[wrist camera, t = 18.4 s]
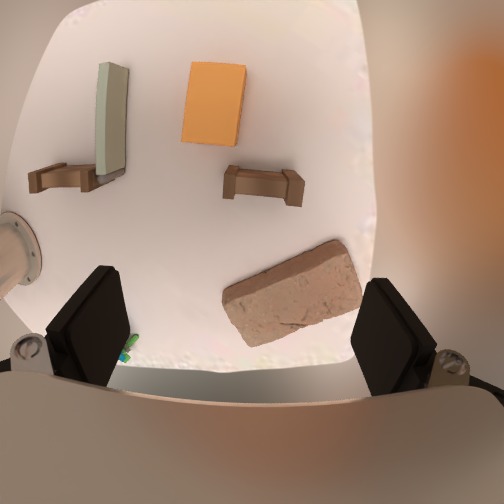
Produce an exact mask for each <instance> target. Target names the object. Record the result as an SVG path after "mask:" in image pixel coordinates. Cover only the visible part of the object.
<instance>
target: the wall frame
mask: <svg viewBox="0 0 504 504" xmlns="http://www.w3.org/2000/svg"><path fill="white" fill-rule="evenodd" d="M238 167H239V166H233V165H229V167H228V169H227V170H226V172H225V174H224V184H223V198H224V199H234V195H235V194H245V195H256V196H267V197H276V198H283V199H284V201H285V203H286V205H288V206H297V207H302V200H303V193H304V186H305V181H304V180H303V179H302V178H301V177H300V176H299V175H298V174H297V173H296V172H295V171H291V170H283V169H282V173H278V172H269V171H259V170H249V169H238ZM98 176H99V175H96V165H72V166H66V163H58V164H55V165H51V166H48V167H45V168H42V169H39V170H36V171H33V172H30V173H28V181H29V192H30V194H31V193H39V192H42V191H44V190H46V189H48V188H53V187H81V192H90V191H92V190H94V189H96V188H98V187H100V186H103V185H105V184H107V183H109V182H111V181H113V180H115V179H112V180H110V181H108V182H106V183H104V184H99V183H98V181H97V178H98Z"/></svg>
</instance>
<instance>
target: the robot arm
mask: <svg viewBox="0 0 504 504" xmlns="http://www.w3.org/2000/svg"><path fill="white" fill-rule="evenodd" d="M40 270H41V255H40V250H39V246H38V243H37V241H36V238H35V236H34V234H33V232H32V230H31V229H30V227H29V226H28V224H27V223H26V222H25V221H24V220H23V219H22V218H21V217H19V216H18V215H16V214H14V213H11V212H6V213H3V214H1V215H0V300H1V299H2V298H3V297H4V296H5V295H6V294H7V293H8V292H9V291H10V290H11V289H12V288H13V287H14V286H16V285H17V284H20V285H29V284H31V283H33V282H34V281H35V280H36V279H37V277H38V276H39V273H40ZM46 332H47V335H46V336H45V337H43V336H42V335H40V334H37V333H31V334H26V335H24V336H22V337H20V338H19V339H17V340H16V341H15V342H14V343H13V345H12V348H11V351H10V358H9V359H6V360H3V361H1V362H0V504H504V390H502V389H500V388H498V387H496V386H493V385H491V384H489V383H487V382H484V381H482V380H480V379H478V378H475V377H473V376H471V375H470V365H469V363H468V361H467V360H466V358H465V357H464V356H463V355H461V354H460V353H458V352H456V351H454V350H450V349H445V350H440V351H439V352H438V353H437V352H436V351H435V348H436V346H437V343H436V342H435V340H434V339H433V338H432V336H431V335H430V333H429V332H428V330H427V329H426V328H425V326H424V325H423V324H422V322H421V321H420V320H419V318H418V317H417V316H416V314H415V313H414V311H412V309H411V308H410V306H409V305H408V304H407V302H406V301H405V300H404V298H403V297H402V296H401V295H400V293H399V292H398V291H397V290H396V288H395V287H394V286H393V284H392V283H391V282H390V281H389V280H388V279H387V278H373V279H372V280H371V281H369V282H368V283H367V285H366V288H365V292H364V295H363V299H362V302H361V306H360V309H359V312H358V316H357V319H356V322H355V325H354V328H353V331H352V335H351V345H352V348H353V350H354V353H355V355H356V358H357V360H358V363H359V365H360V367H361V370H362V372H363V375H364V377H365V380H366V383H367V385H368V388H369V390H370V392H371V395H372V397H365V398H356V399H348V400H337V401H324V402H310V403H309V402H308V403H280V404H279V403H277V404H253V403H225V402H209V401H196V400H186V399H177V398H168V397H161V396H153V395H147V394H140V393H134V392H129V391H123V390H118V389H113V388H108V387H106V386H107V384H108V382H109V379H110V377H111V374H112V372H113V370H114V368H115V366H116V363H117V361H118V359H119V357H120V354H121V352H122V350H123V348H124V346H125V344H126V341H127V339H128V337H129V335H130V325H129V321H128V316H127V312H126V307H125V302H124V297H123V292H122V286H121V281H120V275H119V272H118V271H117V270H115V268H114V267H113V266H103V265H99V266H98V267H97V268H96V269H95V270H94V271H93V272H92V274H91V275H90V276H89V277H88V278H87V279H86V280H85V281H84V283H83V284H82V285H81V286H80V287H79V288H78V290H77V291H76V292H75V293H74V294H73V295H72V297H71V298H70V299H69V300H68V301H67V303H66V304H65V305H64V306H63V307H62V309H61V310H60V311H59V312H58V314H57V315H56V316H55V317H54V319H53V320H52V321H51V322H50V324H49V325H48V326H47V328H46Z"/></svg>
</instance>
